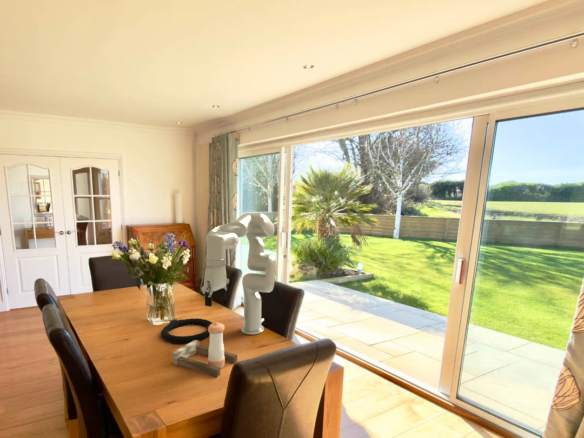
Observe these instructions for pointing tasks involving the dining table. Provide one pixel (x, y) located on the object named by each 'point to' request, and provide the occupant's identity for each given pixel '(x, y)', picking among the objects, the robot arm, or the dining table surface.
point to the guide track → (192, 348)
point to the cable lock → (175, 324)
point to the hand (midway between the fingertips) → (215, 302)
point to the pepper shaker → (216, 345)
